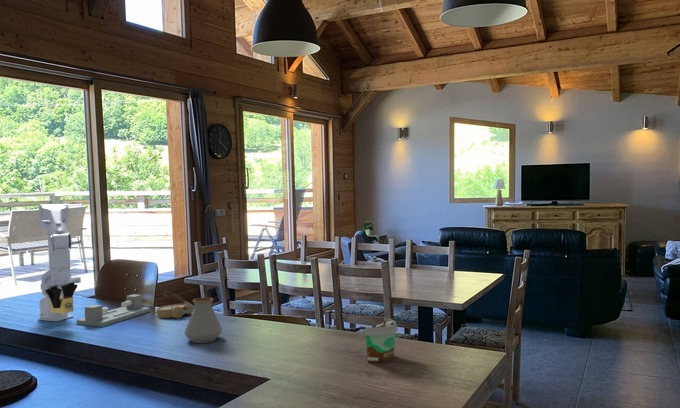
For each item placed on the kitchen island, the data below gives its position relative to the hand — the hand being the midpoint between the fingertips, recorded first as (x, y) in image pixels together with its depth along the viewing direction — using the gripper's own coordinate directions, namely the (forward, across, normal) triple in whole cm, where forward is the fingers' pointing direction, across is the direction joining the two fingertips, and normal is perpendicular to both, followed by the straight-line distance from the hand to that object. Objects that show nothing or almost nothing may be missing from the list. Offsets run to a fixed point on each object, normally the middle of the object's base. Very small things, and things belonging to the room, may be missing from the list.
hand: (61, 306), depth 175 cm
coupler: (+2, 0, 0) cm, 2 cm away
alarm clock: (+8, +28, -26) cm, 39 cm away
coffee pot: (+8, +4, -51) cm, 52 cm away
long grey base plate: (+8, +18, -6) cm, 21 cm away
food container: (+8, +3, -116) cm, 116 cm away
